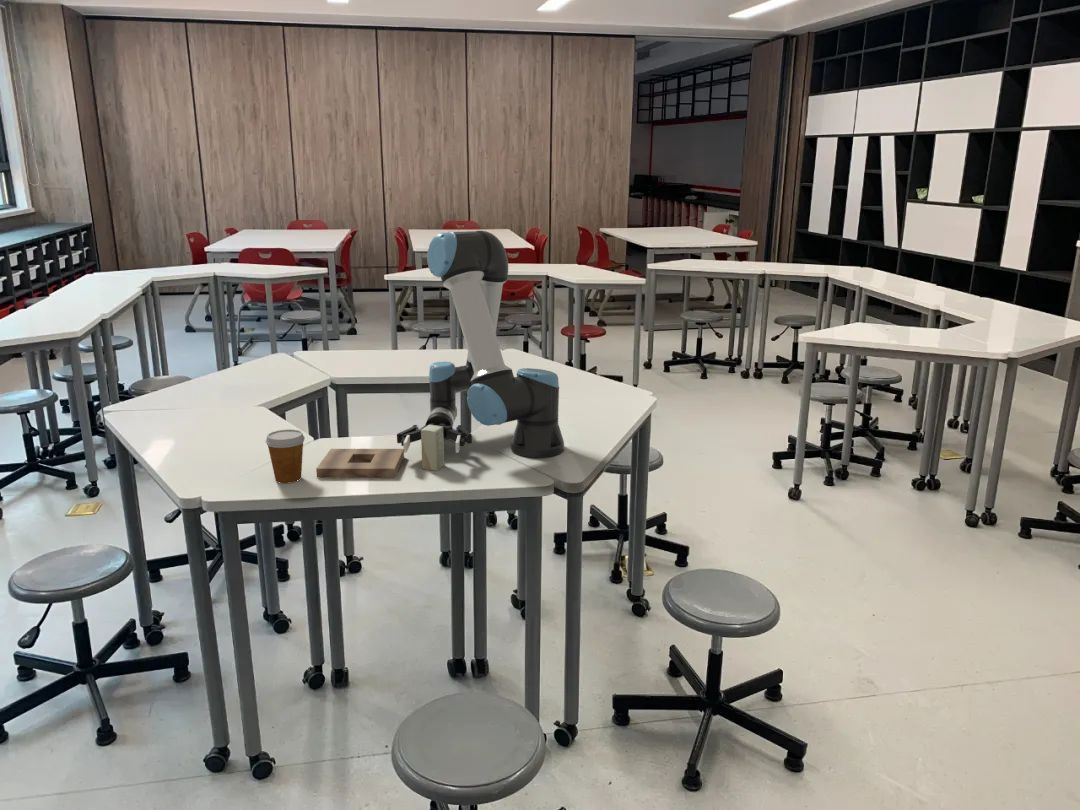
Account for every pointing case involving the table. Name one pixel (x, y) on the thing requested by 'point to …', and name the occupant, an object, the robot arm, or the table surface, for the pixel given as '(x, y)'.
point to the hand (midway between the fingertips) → (431, 447)
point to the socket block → (361, 463)
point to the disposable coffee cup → (286, 454)
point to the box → (432, 447)
